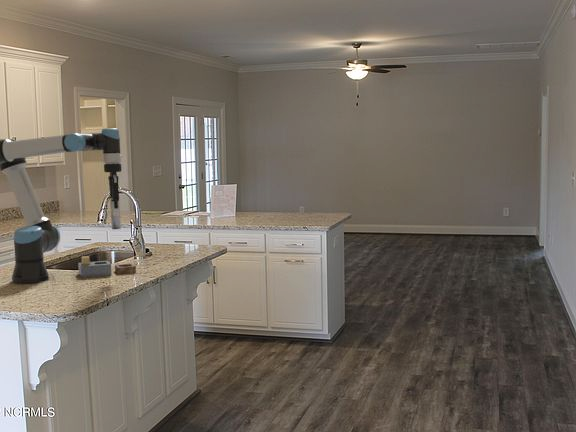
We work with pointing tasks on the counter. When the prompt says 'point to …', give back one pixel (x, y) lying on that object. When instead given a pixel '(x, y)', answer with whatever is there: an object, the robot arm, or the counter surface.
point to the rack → (125, 269)
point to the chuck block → (95, 269)
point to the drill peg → (115, 218)
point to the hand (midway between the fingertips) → (115, 215)
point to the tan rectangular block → (85, 260)
